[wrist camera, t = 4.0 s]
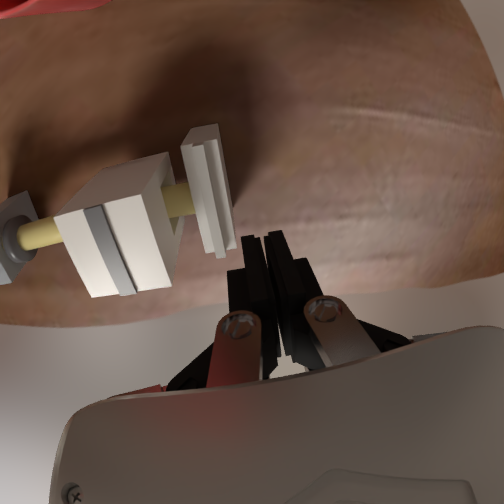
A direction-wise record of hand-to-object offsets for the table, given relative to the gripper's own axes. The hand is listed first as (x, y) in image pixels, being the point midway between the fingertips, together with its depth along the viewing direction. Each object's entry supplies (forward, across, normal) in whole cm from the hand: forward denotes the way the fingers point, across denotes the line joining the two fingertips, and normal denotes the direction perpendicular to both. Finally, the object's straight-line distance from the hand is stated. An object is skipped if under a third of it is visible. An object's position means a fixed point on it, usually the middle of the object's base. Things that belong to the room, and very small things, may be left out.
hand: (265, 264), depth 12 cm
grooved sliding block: (+10, +7, -1) cm, 12 cm away
